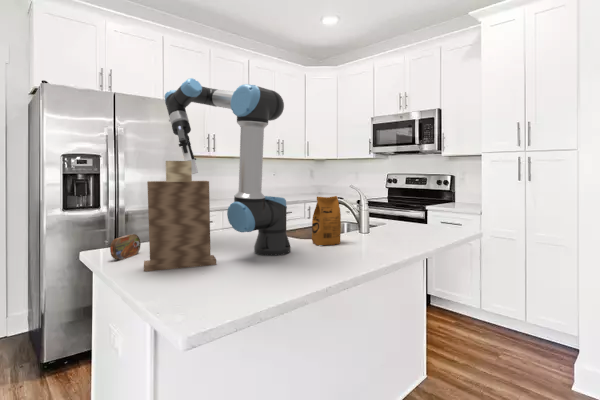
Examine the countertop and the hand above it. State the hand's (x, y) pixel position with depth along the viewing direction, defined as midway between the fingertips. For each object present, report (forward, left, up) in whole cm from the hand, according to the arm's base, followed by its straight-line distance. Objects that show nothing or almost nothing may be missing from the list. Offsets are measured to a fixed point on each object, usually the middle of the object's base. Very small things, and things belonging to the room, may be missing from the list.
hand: (191, 167), depth 154 cm
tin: (+26, +5, -35) cm, 44 cm away
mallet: (+7, +20, -5) cm, 22 cm away
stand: (+7, +26, -35) cm, 44 cm away
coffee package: (-58, +10, -35) cm, 69 cm away
